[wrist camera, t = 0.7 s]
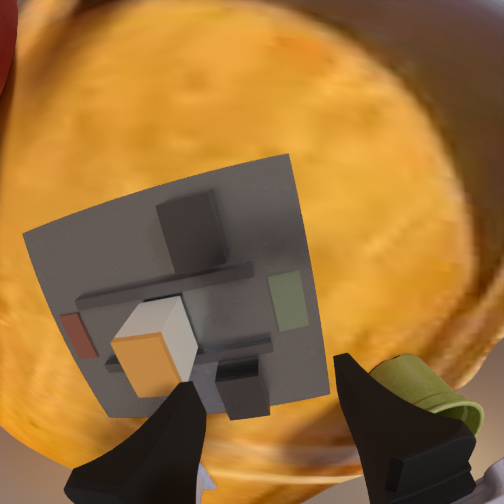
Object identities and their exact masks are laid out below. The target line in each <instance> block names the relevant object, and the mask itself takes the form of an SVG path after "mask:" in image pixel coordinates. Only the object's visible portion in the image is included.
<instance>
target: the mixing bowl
mask: <svg viewBox="0 0 504 504" xmlns="http://www.w3.org/2000/svg"><path fill="white" fill-rule="evenodd" d="M17 25H18V9H17V0H0V96H1V93H2V91H3V88H4V85H5V82H6V79H7V76H8V72H9V69H10V65H11V62H12V59H13V53H14V48H15V43H16V37H17Z"/></svg>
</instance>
